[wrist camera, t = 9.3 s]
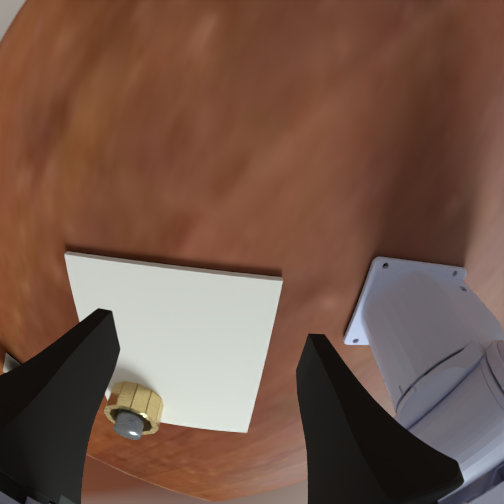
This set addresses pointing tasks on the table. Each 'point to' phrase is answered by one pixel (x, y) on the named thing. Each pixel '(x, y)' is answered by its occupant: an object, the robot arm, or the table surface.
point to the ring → (135, 404)
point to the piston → (129, 424)
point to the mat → (183, 333)
